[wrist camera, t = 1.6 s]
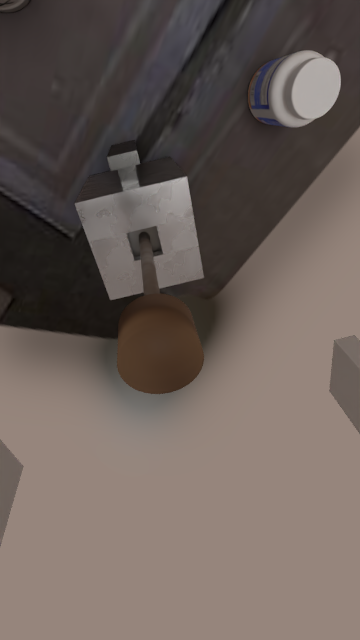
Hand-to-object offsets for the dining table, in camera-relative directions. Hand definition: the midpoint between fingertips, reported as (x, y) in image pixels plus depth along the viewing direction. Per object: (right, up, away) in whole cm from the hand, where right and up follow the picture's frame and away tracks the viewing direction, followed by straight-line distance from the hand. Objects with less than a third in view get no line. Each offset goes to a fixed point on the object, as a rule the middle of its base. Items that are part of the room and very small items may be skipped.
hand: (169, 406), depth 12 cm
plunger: (-3, +11, +17) cm, 21 cm away
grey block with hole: (-4, +17, +25) cm, 30 cm away
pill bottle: (+10, +27, +21) cm, 35 cm away
